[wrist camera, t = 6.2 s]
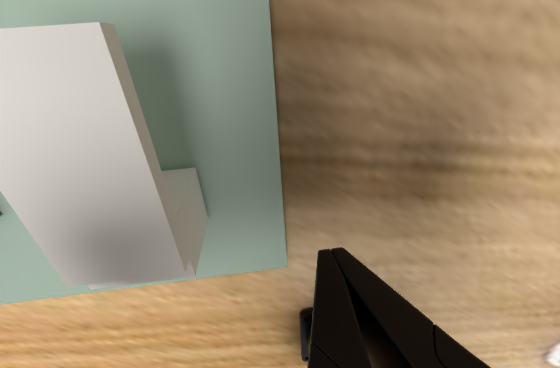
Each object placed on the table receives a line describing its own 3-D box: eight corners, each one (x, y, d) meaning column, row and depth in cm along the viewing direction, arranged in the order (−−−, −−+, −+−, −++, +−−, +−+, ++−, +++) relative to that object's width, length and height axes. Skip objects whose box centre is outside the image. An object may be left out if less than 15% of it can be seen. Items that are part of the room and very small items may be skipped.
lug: (208, 218, 13) (191, 291, 10) (130, 228, 13) (79, 305, 9) (161, 30, 9) (98, 21, 5) (46, 38, 9) (-108, 35, 5)
